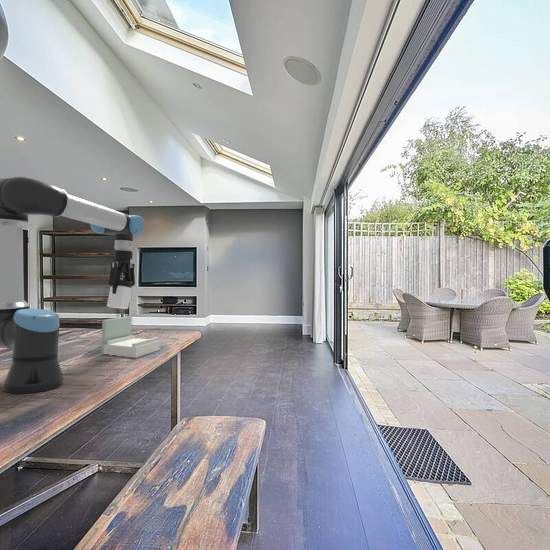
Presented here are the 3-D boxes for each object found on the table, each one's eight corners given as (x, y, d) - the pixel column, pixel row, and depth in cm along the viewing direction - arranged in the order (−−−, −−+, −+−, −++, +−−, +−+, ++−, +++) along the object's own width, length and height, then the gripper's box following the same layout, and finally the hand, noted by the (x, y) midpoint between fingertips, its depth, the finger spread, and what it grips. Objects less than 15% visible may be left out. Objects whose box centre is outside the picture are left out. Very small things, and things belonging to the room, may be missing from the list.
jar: (130, 308, 153) (135, 282, 156) (110, 305, 148) (116, 278, 151) (123, 309, 160) (128, 283, 162) (105, 306, 155) (110, 280, 157)
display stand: (135, 357, 148) (137, 322, 148) (101, 354, 152) (102, 320, 153) (159, 349, 166) (160, 318, 166) (127, 346, 170) (129, 316, 170)
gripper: (115, 248, 146) (113, 302, 146) (144, 252, 166) (142, 300, 165) (100, 248, 147) (98, 301, 147) (130, 252, 167) (129, 299, 167)
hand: (121, 300), depth 156 cm, fingers closed on jar, 8 cm apart
